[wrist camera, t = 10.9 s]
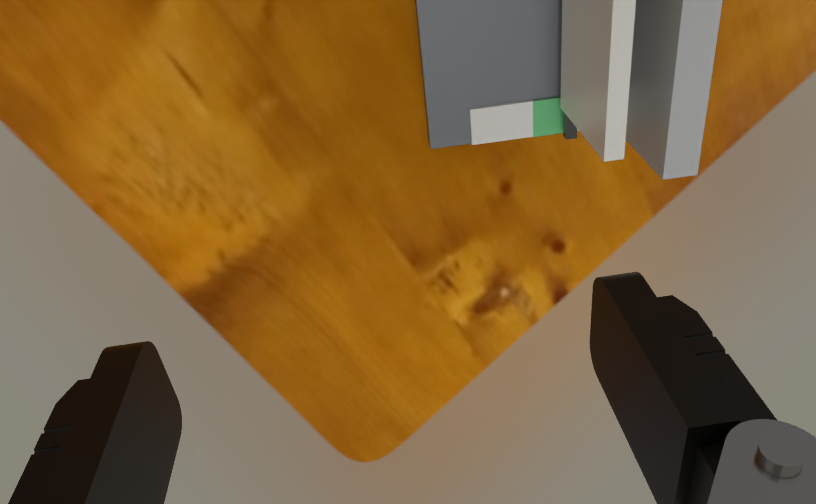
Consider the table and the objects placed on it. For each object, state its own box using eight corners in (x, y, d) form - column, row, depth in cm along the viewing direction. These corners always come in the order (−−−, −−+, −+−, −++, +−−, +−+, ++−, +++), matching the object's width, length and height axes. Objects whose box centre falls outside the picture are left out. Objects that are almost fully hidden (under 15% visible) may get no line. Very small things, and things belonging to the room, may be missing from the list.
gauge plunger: (563, -82, 27) (616, -61, 22) (583, -84, 27) (640, -64, 22) (559, 135, 32) (602, 193, 27) (576, 133, 32) (621, 190, 27)
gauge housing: (405, -107, 27) (426, -86, 20) (647, -139, 27) (744, -128, 21) (429, 144, 33) (451, 220, 26) (628, 116, 33) (698, 185, 27)
